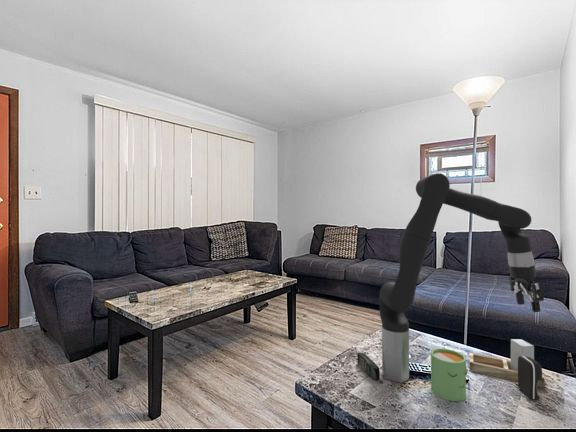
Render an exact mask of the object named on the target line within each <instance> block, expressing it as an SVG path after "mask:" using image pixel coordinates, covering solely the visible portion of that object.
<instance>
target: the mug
mask: <svg viewBox="0 0 576 432" xmlns="http://www.w3.org/2000/svg"><path fill="white" fill-rule="evenodd" d="M466 359H467V358H466V356H465V355H464V354H463V353H461V352H458V351H456V350H454V349H449V348H434V349H432V350H431V351H430V390H431V391H432V393H433V394H434V395H436V396H438V397H439V398H442V399H444V400H447V401H452V402H460V401H464V400H465V399H466V397H467V395H466V394H467V387H466V386H467V384H466V383H467V378H466V377H467V375H468V368H467V367H468V366H467V361H466Z"/></svg>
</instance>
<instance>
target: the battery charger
mask: <svg viewBox="0 0 576 432" xmlns="http://www.w3.org/2000/svg"><path fill="white" fill-rule="evenodd" d="M542 374H543V367H542V365H541V364H540V363H539V362H538V361H536V360H535V358H534V359H532V358H531V357H528V356H519V357H518V381H517V387H518V389H519V390H520V391H521V392H523V394H525V396H527V397H528V398H529V399H531V400H540V397H541V396H540V395H539V394H538V390H537V389H538V386H537V383H538V381H541V380H542Z"/></svg>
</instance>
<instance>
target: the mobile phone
mask: <svg viewBox="0 0 576 432" xmlns="http://www.w3.org/2000/svg"><path fill="white" fill-rule="evenodd" d="M356 358H357V365H358V366H359V367H360V368H361V369H362V370H363V371H364V373H366V374H367V375H368V377H369V378H371V379H373V380H377V381H378V382H379V383H381V384H383V380H382V379H381V378H380V376H381V372H380V368H379V366H378V365H377V364H376V362H375V361H373V359H371V358H370V357H369V356H368V355H366V353H363V352H357V357H356Z"/></svg>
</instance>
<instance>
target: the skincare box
mask: <svg viewBox="0 0 576 432" xmlns="http://www.w3.org/2000/svg"><path fill="white" fill-rule="evenodd" d="M519 356H528V357H531V358H532V359H534V360H535V346H534V345H533V344H531V343H529V342H528V341H525V340H523V339H522V338H521V339H518V338H517V339H514V338H511V339H510V361H511V370H514V371H518V357H519Z"/></svg>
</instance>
